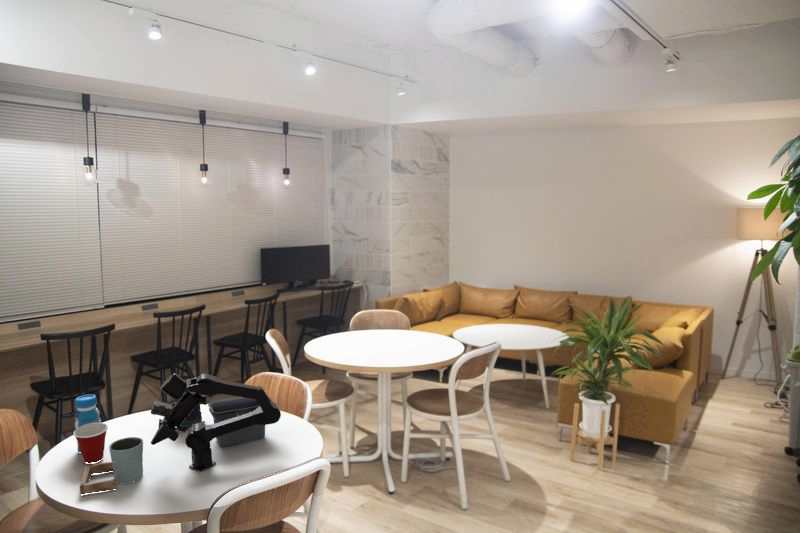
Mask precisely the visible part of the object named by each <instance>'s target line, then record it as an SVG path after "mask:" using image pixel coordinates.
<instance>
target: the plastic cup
mask: <svg viewBox="0 0 800 533" xmlns="http://www.w3.org/2000/svg"><path fill="white" fill-rule="evenodd" d="M108 426H109V425H108V424H107V423H104V422H101V423H90V424H86V425H83V426H81V427H79V428H77V429H76V428H75V429H74V430H73V434H72V435H73V436H74V438H76V441H78V444H79V447H80V451H81V454H80V455H82V459H83V462H84V463H85V462H88V463H91V462H97V461H99V460H101V459H102V458H103V459H104V452H105V445H106V444H105V443H106V436H107V432H108V431H107V430H108V429H109V427H108ZM78 444H77V445H78Z"/></svg>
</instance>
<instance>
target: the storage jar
mask: <svg viewBox="0 0 800 533" xmlns="http://www.w3.org/2000/svg"><path fill="white" fill-rule="evenodd" d="M185 393H186V391H185V392H184V394H185ZM184 394H183V395H184ZM183 395H182V396H183ZM182 396H181V397H182ZM181 397H180V398H181ZM180 398H177V399H176V398H175V399H173V401H174V402H178V401H179V400H180ZM174 402H173V403H174ZM201 404H202V403H201V402H200V403H199V404H198V405H197V406H196V407H195V408H194V410H193V411H192V412H191V413H190V414H189V418H188V419H187V418H186V419H185V420H184V421H183V422H182V423H181V427H180V428H177V427H176V428H177V429H178V431H179V432H180V433H186V431H187V430H188V428H189V427H191V426H193V424H198V423H200V422H202V421H203V417H202V411H201Z"/></svg>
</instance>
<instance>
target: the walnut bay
mask: <svg viewBox="0 0 800 533" xmlns="http://www.w3.org/2000/svg"><path fill="white" fill-rule="evenodd" d="M109 471H114V470H113V466H112V461H107V462H106V461H105V462H99V463H96V464H90V465H88V464H86V467H85V470H84V473H83V476H82V477H81V481H80V483H79V492H80V494H85V493H92V492H99V491H106V490H113V489H118V486H117V484H118V483H116V479H114V478H112V479H105V480H100V481H94V482H89V479H90V476H91V474H93V473H102V472H109ZM91 477H92V476H91ZM90 480H91V479H90ZM88 482H89V483H88Z"/></svg>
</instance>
